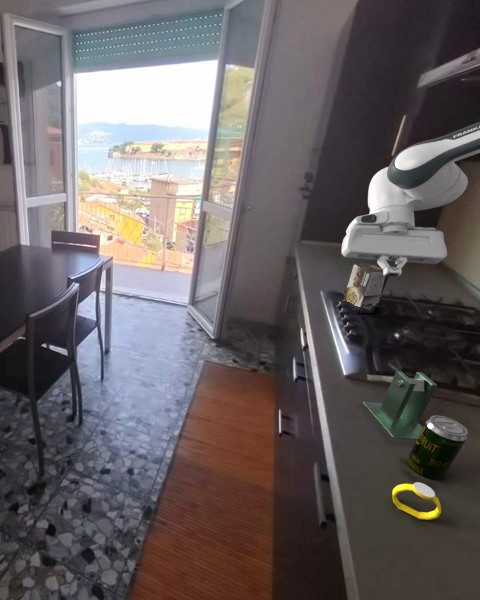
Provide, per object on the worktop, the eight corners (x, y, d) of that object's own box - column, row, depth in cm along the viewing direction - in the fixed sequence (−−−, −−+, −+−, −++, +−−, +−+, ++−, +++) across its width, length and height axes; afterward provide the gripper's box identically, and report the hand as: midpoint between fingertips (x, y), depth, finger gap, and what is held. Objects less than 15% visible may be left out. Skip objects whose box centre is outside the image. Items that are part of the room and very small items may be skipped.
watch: (387, 507, 63) (399, 484, 60) (387, 496, 64) (399, 473, 62) (433, 529, 59) (448, 505, 57) (432, 516, 61) (446, 492, 58)
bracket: (361, 405, 86) (379, 361, 80) (397, 407, 85) (418, 363, 79) (391, 441, 76) (414, 393, 70) (433, 444, 75) (459, 396, 69)
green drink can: (424, 460, 71) (449, 414, 66) (449, 484, 66) (478, 436, 61) (397, 460, 71) (420, 414, 66) (420, 484, 66) (447, 437, 61)
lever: (367, 382, 85) (367, 372, 85) (394, 383, 84) (394, 373, 85) (402, 390, 74) (402, 379, 74) (434, 392, 74) (434, 380, 74)
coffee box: (375, 314, 127) (391, 271, 120) (357, 314, 127) (372, 272, 120) (358, 303, 135) (372, 262, 128) (340, 303, 135) (353, 263, 128)
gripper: (434, 234, 89) (438, 285, 85) (339, 229, 96) (338, 276, 92) (451, 221, 84) (456, 274, 80) (349, 216, 90) (348, 265, 86)
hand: (392, 275), depth 86 cm, fingers closed
